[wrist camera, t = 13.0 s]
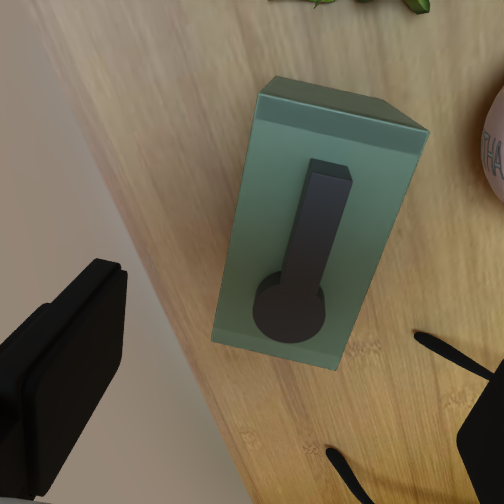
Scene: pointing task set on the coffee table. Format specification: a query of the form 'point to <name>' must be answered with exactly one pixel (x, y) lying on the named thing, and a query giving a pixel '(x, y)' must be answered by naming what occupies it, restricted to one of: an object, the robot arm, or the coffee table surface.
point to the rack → (287, 199)
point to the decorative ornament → (417, 3)
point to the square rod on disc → (304, 258)
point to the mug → (494, 146)
